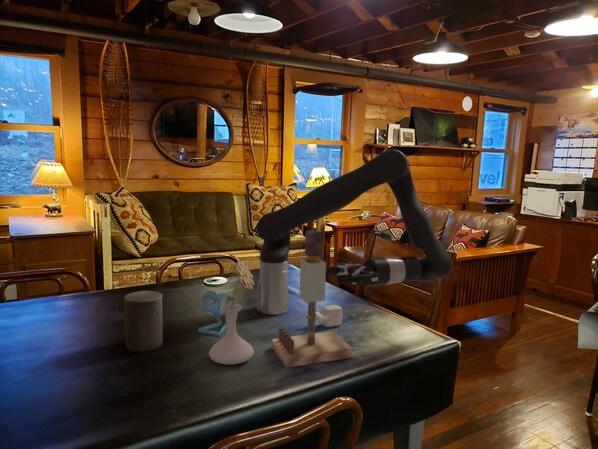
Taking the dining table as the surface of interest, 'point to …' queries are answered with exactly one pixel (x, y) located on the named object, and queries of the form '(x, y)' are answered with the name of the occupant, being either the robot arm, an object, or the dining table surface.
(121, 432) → the dining table surface
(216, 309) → the chair
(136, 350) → the pillar candle
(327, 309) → the power adapter
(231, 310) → the flower in vase
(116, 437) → the dining table surface
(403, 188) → the robot arm
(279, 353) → the post
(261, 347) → the dining table surface
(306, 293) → the square hollow tube
